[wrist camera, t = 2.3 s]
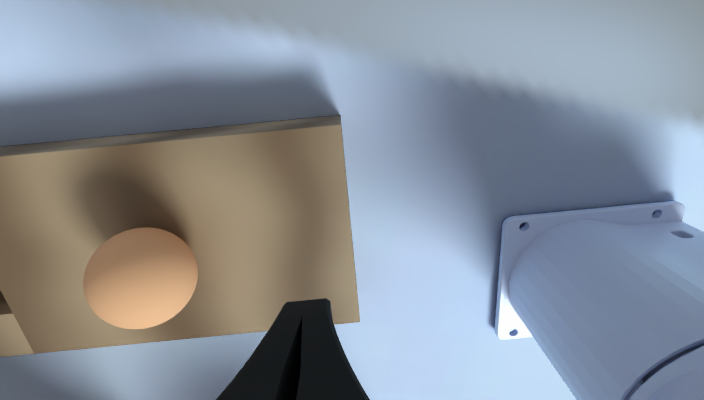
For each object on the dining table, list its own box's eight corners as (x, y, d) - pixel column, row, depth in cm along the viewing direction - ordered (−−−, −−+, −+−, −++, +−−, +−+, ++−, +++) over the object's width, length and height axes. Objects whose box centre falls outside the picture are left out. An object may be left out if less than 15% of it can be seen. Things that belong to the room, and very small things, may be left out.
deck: (340, 115, 17) (340, 124, 15) (357, 292, 21) (359, 322, 19) (-175, 163, 17) (-255, 180, 15) (-66, 332, 21) (-116, 368, 18)
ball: (198, 207, 16) (157, 254, 12) (218, 284, 18) (187, 347, 14) (106, 216, 16) (37, 265, 12) (135, 292, 17) (80, 357, 14)
